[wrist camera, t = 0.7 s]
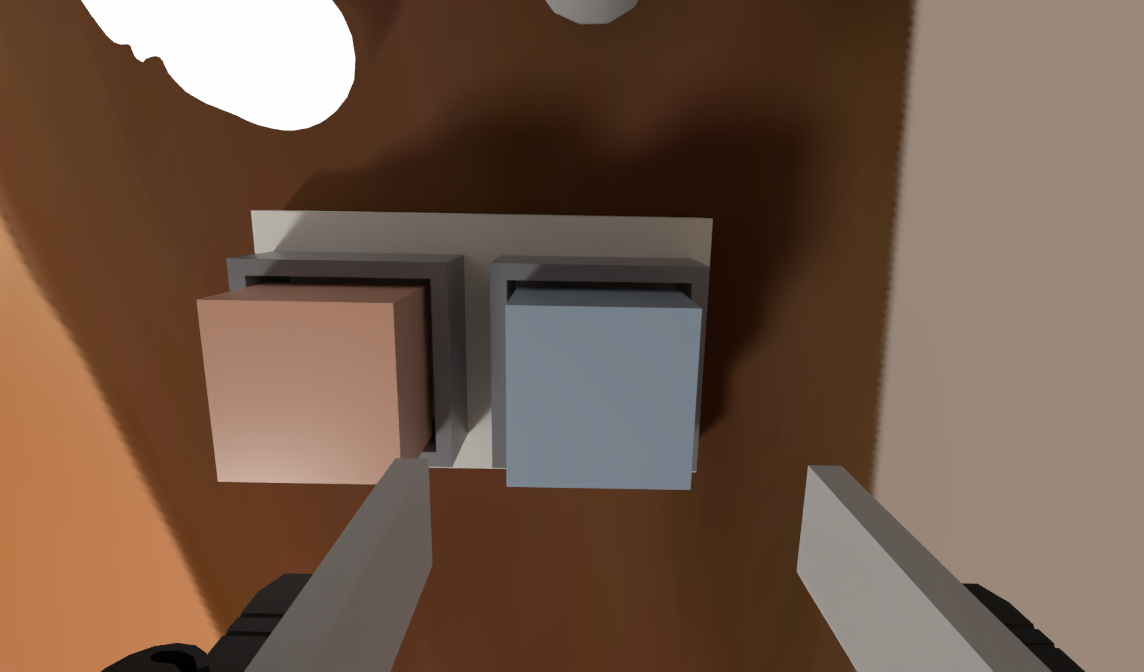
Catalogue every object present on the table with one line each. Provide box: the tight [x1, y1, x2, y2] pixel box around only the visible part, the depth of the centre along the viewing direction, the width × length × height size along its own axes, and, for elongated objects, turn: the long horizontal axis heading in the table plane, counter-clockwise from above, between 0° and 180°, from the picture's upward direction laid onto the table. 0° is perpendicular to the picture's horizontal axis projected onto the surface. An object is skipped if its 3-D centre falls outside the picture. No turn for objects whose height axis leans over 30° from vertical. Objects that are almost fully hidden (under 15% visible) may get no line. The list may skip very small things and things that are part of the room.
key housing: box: [226, 210, 713, 472], centre depth 29 cm, size 13×22×7 cm, turn 89°
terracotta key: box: [197, 282, 432, 484], centre depth 24 cm, size 7×7×5 cm
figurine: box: [82, 0, 355, 130], centre depth 24 cm, size 7×7×12 cm
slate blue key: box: [505, 287, 702, 490], centre depth 24 cm, size 7×7×5 cm
